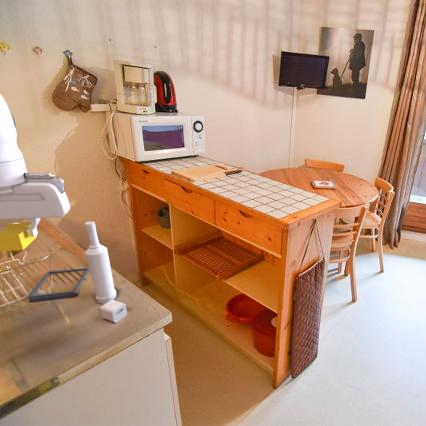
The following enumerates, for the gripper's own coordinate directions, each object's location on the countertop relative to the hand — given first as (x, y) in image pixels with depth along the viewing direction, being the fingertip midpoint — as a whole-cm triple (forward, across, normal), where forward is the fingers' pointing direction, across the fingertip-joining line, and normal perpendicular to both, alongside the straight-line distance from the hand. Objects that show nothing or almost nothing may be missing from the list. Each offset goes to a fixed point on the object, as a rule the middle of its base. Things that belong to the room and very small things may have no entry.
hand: (16, 236), depth 66 cm
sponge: (+2, 0, 0) cm, 2 cm away
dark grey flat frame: (+30, +6, -25) cm, 40 cm away
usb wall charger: (+30, -11, -8) cm, 33 cm away
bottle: (+30, -8, -16) cm, 35 cm away
